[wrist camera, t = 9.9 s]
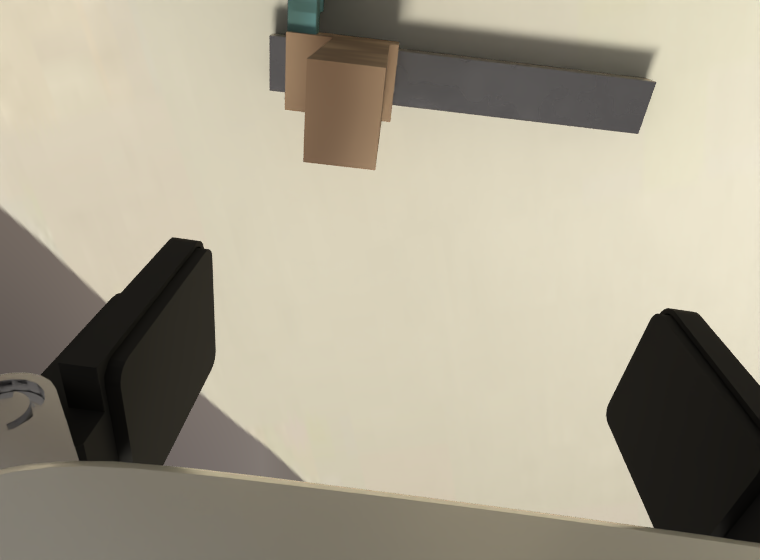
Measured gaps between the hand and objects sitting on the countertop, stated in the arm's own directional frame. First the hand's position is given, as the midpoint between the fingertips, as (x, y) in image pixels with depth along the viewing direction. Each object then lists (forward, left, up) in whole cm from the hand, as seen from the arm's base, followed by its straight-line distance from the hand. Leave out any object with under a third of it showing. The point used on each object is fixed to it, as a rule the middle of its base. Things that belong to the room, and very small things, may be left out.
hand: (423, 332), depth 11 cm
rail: (-3, -2, -25) cm, 25 cm away
